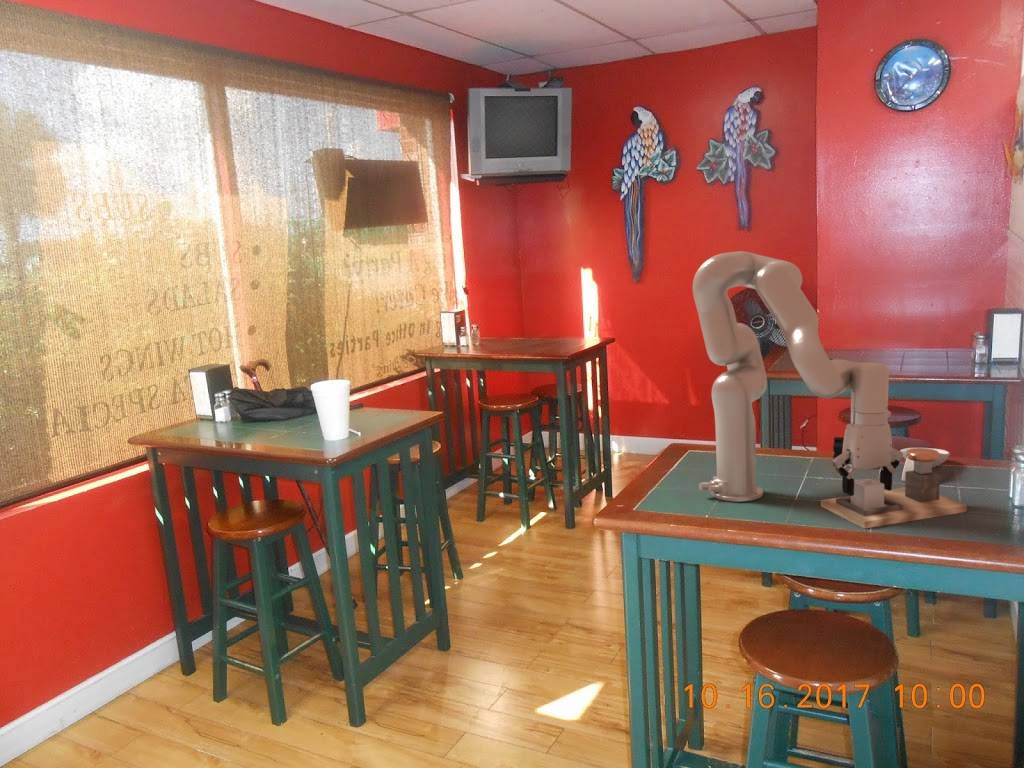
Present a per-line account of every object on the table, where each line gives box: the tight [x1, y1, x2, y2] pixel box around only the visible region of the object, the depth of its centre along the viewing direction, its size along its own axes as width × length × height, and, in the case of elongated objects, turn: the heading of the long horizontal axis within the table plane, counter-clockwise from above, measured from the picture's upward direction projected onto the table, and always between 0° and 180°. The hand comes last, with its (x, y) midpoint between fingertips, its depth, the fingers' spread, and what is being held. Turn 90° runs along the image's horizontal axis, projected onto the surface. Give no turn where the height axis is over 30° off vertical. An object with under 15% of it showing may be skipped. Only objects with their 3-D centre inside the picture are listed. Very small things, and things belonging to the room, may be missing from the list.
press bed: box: [820, 470, 968, 529], centre depth 186 cm, size 26×16×8 cm, turn 103°
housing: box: [851, 477, 885, 510], centre depth 185 cm, size 5×5×6 cm
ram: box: [907, 447, 939, 476], centre depth 187 cm, size 6×6×7 cm
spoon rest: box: [899, 447, 951, 482], centre depth 212 cm, size 24×12×7 cm, turn 145°
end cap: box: [832, 436, 845, 468], centre depth 223 cm, size 10×7×7 cm
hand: (866, 491), depth 185 cm, fingers open, 9 cm apart
